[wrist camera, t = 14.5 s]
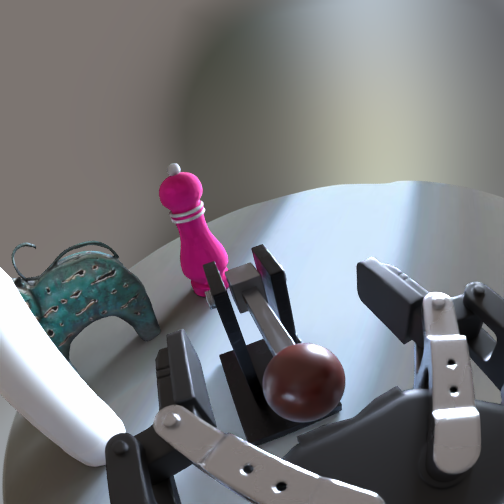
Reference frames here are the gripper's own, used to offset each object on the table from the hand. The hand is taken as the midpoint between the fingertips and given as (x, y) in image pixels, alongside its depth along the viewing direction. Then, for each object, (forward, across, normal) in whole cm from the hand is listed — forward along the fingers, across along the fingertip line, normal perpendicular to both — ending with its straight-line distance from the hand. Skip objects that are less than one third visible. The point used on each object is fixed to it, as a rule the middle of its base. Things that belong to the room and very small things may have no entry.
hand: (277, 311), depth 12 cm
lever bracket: (+9, 0, +17) cm, 19 cm away
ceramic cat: (+21, +21, +18) cm, 35 cm away
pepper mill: (+31, +3, +18) cm, 36 cm away
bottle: (+8, +21, +18) cm, 29 cm away
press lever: (+3, 0, +5) cm, 6 cm away
